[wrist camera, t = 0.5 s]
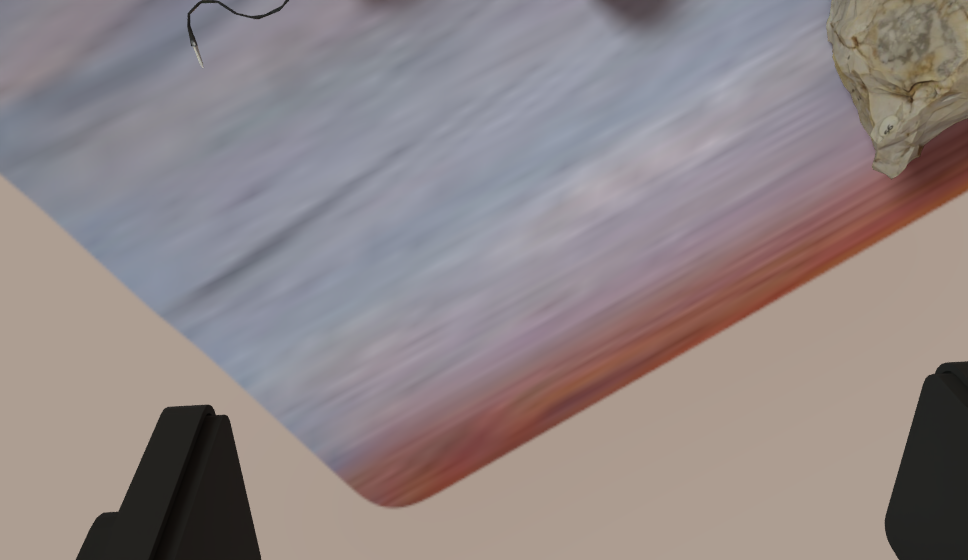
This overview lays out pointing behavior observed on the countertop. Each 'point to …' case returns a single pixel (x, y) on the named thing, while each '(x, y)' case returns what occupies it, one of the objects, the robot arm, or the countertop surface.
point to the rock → (902, 71)
